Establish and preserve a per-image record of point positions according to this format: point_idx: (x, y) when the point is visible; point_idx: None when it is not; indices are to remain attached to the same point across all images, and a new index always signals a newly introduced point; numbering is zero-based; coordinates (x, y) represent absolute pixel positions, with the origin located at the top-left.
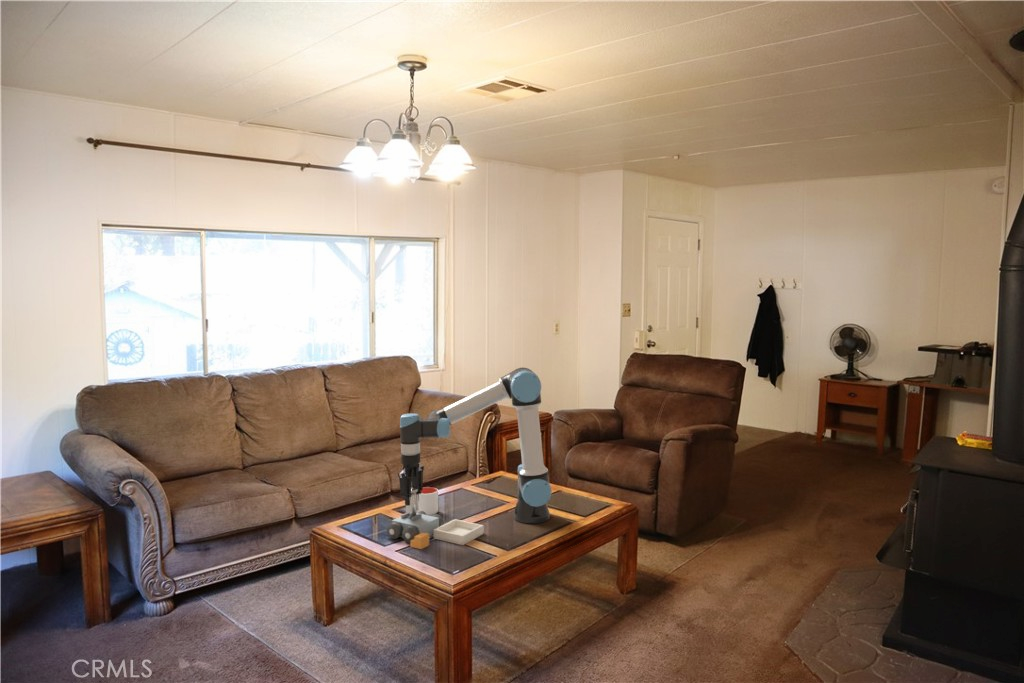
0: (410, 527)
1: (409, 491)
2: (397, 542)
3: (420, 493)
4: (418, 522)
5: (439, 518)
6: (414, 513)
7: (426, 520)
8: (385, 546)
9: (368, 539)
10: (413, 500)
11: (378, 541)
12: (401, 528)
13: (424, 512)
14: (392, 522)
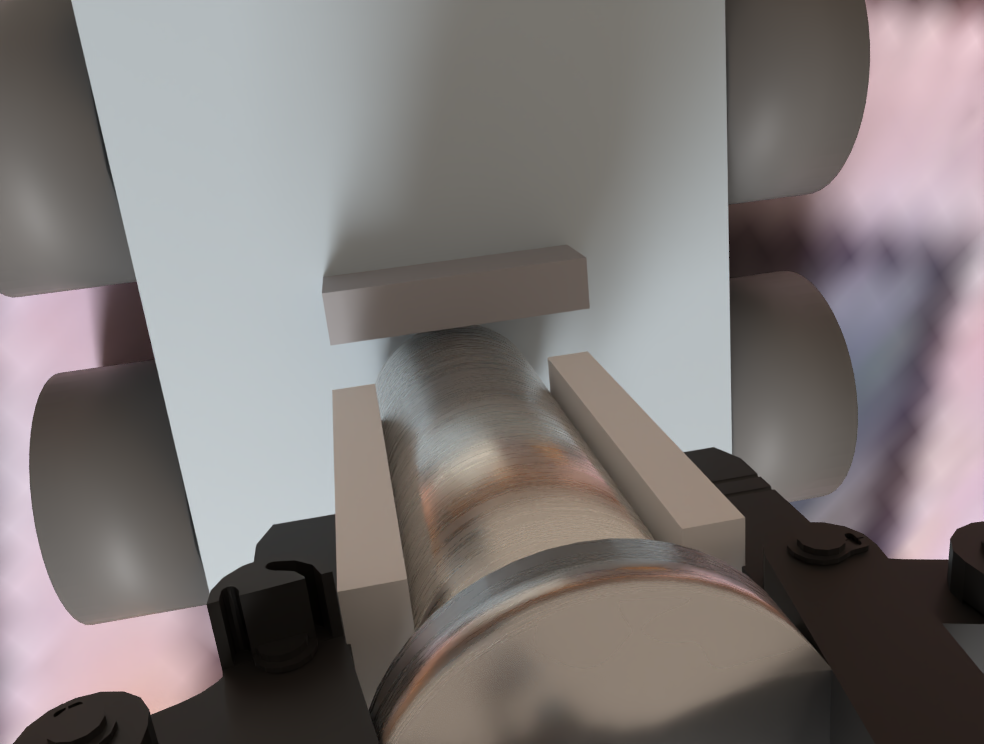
0: (833, 42)
1: (914, 652)
2: (795, 214)
3: (265, 562)
4: (557, 119)
5: (6, 32)
6: (488, 348)
7: (378, 69)
8: (966, 231)
9: (889, 554)
10: (581, 470)
11: (882, 424)
12: (737, 301)
13: (42, 488)
14: None
